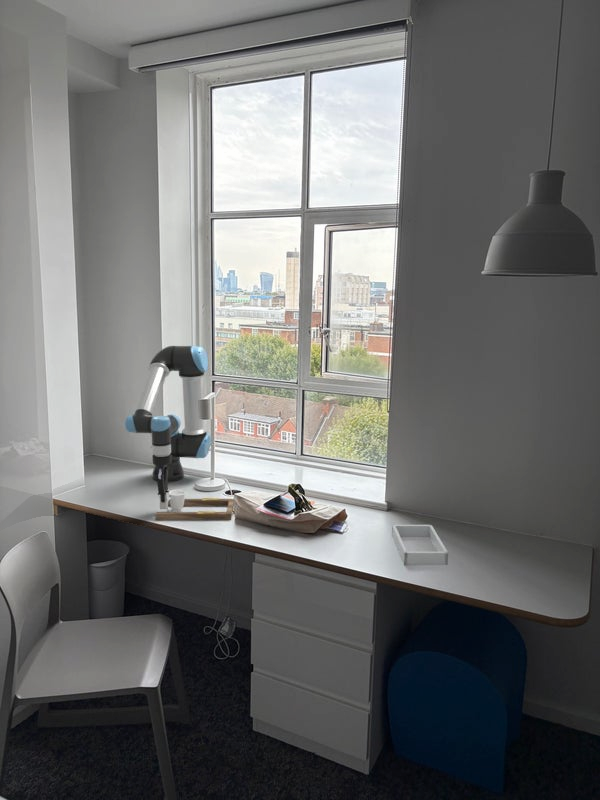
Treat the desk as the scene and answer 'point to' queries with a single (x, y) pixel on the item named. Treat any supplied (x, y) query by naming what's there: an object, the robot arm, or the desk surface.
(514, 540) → the desk surface
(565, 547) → the desk surface
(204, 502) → the channel
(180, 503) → the cup
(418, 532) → the tray
